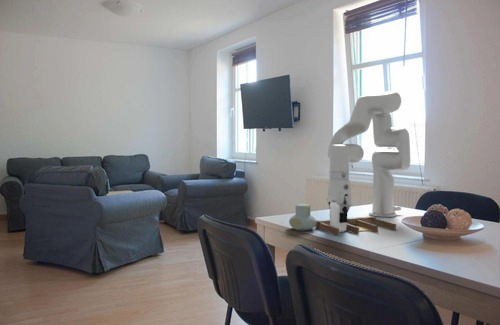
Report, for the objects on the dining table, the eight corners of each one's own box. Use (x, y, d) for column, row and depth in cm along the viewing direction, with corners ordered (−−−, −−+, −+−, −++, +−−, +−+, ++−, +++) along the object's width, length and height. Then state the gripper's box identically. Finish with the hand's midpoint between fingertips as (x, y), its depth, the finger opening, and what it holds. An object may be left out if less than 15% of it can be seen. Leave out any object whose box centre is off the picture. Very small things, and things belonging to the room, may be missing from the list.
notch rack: (373, 223, 177) (373, 216, 177) (397, 230, 163) (397, 223, 163) (315, 227, 167) (315, 220, 167) (335, 235, 153) (335, 228, 153)
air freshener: (319, 230, 162) (320, 205, 162) (306, 233, 157) (306, 207, 156) (299, 225, 170) (299, 202, 170) (285, 228, 165) (286, 204, 164)
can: (347, 229, 164) (347, 200, 163) (345, 233, 158) (345, 202, 157) (331, 228, 166) (331, 199, 165) (328, 231, 160) (329, 201, 159)
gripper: (360, 177, 153) (359, 224, 155) (335, 173, 169) (334, 216, 171) (343, 178, 151) (342, 226, 152) (319, 174, 167) (318, 217, 168)
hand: (338, 220), depth 161 cm, fingers closed on can, 6 cm apart
